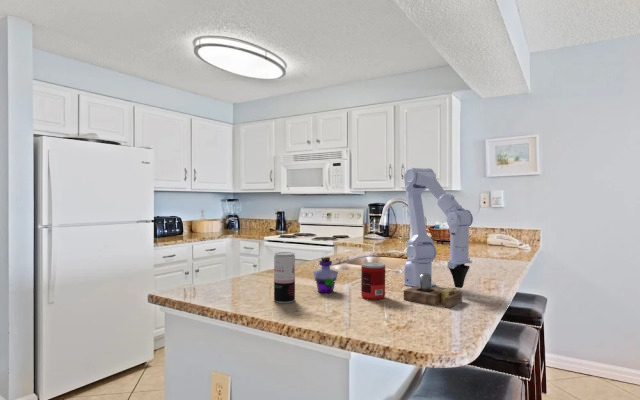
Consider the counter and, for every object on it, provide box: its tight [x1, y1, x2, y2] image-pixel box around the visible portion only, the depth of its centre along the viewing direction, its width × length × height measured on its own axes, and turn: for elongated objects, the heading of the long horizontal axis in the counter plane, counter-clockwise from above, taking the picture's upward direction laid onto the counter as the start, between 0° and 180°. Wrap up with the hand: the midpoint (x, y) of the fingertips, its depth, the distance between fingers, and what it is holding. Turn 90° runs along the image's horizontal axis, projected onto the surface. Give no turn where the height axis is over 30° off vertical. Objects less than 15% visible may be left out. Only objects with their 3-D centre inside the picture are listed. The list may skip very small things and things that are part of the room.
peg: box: [420, 273, 431, 293], centre depth 127 cm, size 4×4×8 cm
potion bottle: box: [312, 256, 339, 295], centre depth 137 cm, size 9×9×12 cm
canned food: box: [360, 261, 386, 301], centre depth 129 cm, size 8×8×11 cm
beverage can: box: [273, 251, 296, 304], centre depth 125 cm, size 6×6×15 cm
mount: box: [403, 285, 463, 309], centre depth 125 cm, size 15×10×3 cm, turn 50°
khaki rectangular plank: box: [440, 287, 457, 305], centre depth 123 cm, size 2×6×4 cm, turn 140°
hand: (458, 287), depth 130 cm, fingers closed
